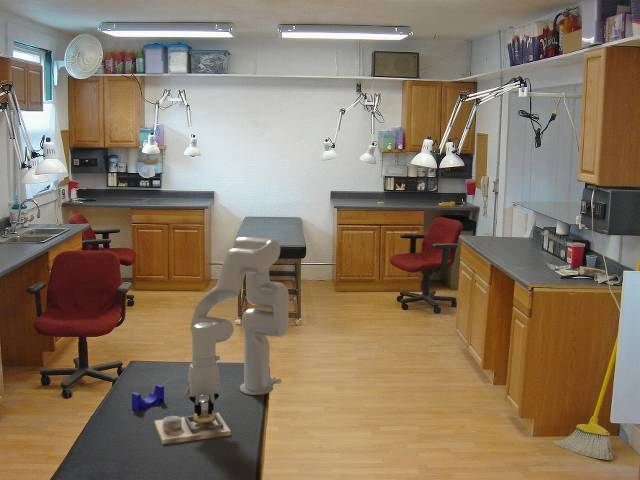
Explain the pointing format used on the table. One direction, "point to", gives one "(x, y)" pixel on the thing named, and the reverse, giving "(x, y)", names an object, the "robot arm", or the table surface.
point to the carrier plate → (189, 429)
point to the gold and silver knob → (204, 413)
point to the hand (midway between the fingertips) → (203, 413)
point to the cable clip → (148, 398)
